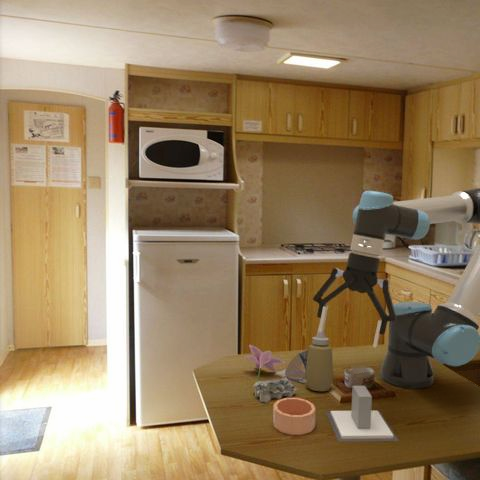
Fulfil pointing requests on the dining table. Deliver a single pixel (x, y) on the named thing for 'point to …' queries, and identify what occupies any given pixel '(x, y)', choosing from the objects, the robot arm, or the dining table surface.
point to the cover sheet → (361, 433)
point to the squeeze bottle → (319, 364)
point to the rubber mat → (358, 439)
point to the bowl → (294, 416)
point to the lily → (263, 359)
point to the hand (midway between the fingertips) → (347, 338)
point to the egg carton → (277, 385)
